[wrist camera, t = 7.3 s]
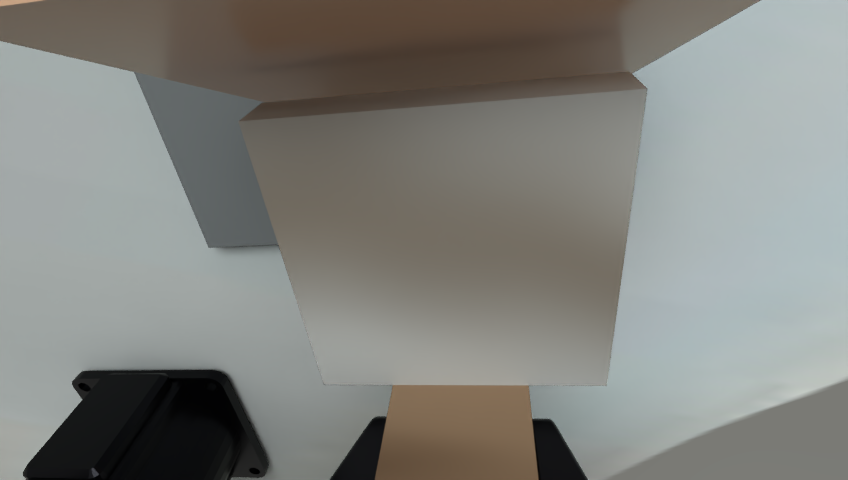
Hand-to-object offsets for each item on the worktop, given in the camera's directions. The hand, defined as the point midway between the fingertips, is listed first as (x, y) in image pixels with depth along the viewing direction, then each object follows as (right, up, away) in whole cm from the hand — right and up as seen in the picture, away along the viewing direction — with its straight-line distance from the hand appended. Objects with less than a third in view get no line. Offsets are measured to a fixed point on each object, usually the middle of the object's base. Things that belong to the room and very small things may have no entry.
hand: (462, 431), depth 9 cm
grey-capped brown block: (0, +1, 0) cm, 1 cm away
